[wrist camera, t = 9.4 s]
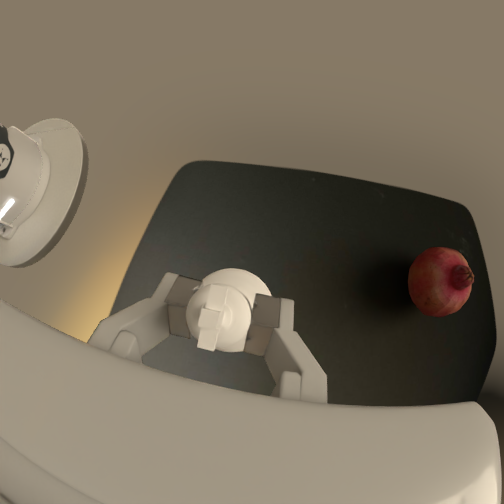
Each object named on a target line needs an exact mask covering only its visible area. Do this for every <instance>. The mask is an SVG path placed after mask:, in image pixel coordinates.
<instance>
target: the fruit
mask: <svg viewBox="0 0 504 504" xmlns="http://www.w3.org/2000/svg"><path fill="white" fill-rule="evenodd" d="M473 279H474V275H473V273H472V272H471V269H470V268H469V266H468V264H467V261H466V260H465V258H464V257H463V256H462V255H461V254H460V253H459V252H458V251H456V250H453V249H449V248H446V247H433V248H429V249H427V250H425V251H424V252H423V253H421V254H420V255H419V256H417V257H416V259H415V260H414V262H413V264H412V265H411V267H410V269H409V276H408V289H409V294H410V296H411V299H412V301H413V303H414V304H415V305H416V306H417V307H418V309H419V310H420V311H421V312H422V313H423V314H424V315H429V316H435V317H442V316H445V315H448V314H451V313H454V312H456V311H458V310H459V309H460V308H461V307H462V306H463V304H464V303H465V302H466V300H467V299H468V297H469V294H470V291H471V284H472V283H473V282H474V280H473Z"/></svg>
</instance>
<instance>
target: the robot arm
mask: <svg viewBox="0 0 504 504" xmlns="http://www.w3.org/2000/svg"><path fill="white" fill-rule="evenodd" d="M49 176H50V160H49V157H48V155H47V153H46V152H45V151H44V149H43V140H42V139H41V138H40V137H38V136H37V137H34V138H32V139H31V138H30V137H29V136H27V135H26V134H24V133H23V132H22V131H20V130H19V129H17V128H16V127H14V126H12V127H9V128H5V127H4V126H3V125H2V123H1V122H0V235H1V236H2V237H4V238H6V239H8V240H10V239H11V238H12V237H13V235H14V234H15V232H16V230H17V229H18V227H19V226H20V225H21V224H22V223H23V222H25V221H26V220H27V219H28V218H29V217H30V216H31V215H32V213H33V212H34V211H35V209H36V208H37V206H38V205H39V203H40V201H41V199H42V197H43V195H44V193H45V190H46V188H47V184H48V181H49ZM202 287H203V281H200V280H197V279H193V278H189V277H185V276H181V275H177V274H173V273H169V272H167V273H166V274H165V275H164V277H163V278H162V280H161V282H160V283H159V285H158V287H157V289H156V290H155V292H154V294H153V295H152V297H151V298H148V297H147V298H145V299H143V300H141V301H139V302H137V303H135V304H133V305H131V306H129V307H127V308H125V309H123V310H121V311H119V312H117V313H115V314H113V315H111V316H109V317H107V318H105V319H103V320H101V321H100V323H99V324H98V326H97V328H96V329H95V331H94V332H93V334H92V335H91V337H90V339H89V340H88V342H87V343H85V342H83V341H80V340H78V339H76V338H74V337H72V336H70V335H67V334H65V333H63V332H61V331H59V330H57V329H55V328H53V327H51V326H49V325H47V324H45V323H43V322H41V321H39V320H37V319H35V318H34V317H32V316H30V315H28V314H26V313H24V312H23V311H21V310H19V309H17V308H16V307H14V306H12V305H11V304H9V303H7V302H6V301H4V300H2V299H1V298H0V504H501V463H500V451H499V443H498V437H497V432H496V428H495V425H494V423H493V421H492V420H491V418H490V417H489V416H488V414H487V413H486V412H485V411H484V410H483V408H482V407H480V405H478V404H477V403H476V402H463V403H453V404H442V405H428V406H354V405H339V404H327V375H326V374H325V373H324V371H323V370H322V368H321V367H320V365H319V364H318V362H317V361H316V360H315V358H314V357H313V355H312V354H311V352H310V351H309V349H308V348H307V347H306V345H305V344H304V342H303V341H302V339H301V338H300V336H299V335H298V333H297V332H294V331H293V316H294V301H293V300H290V299H285V298H279V297H274V296H269V295H264V294H259V293H256V294H255V298H254V303H253V308H252V314H251V322H250V326H249V329H248V331H247V335H246V340H245V345H244V350H243V352H246V353H250V354H255V355H259V356H264V359H265V361H266V363H267V365H268V368H269V370H270V372H271V374H272V376H273V378H274V380H275V383H276V386H275V388H274V390H273V392H272V394H271V396H265V395H259V394H254V393H248V392H243V391H238V390H234V389H229V388H224V387H220V386H216V385H211V384H207V383H203V382H199V381H196V380H192V379H188V378H185V377H181V376H177V375H174V374H171V373H167V372H164V371H161V370H158V369H155V368H151V367H148V366H145V365H143V362H142V358H141V356H142V355H144V354H145V353H147V352H148V351H149V350H151V349H152V348H153V347H155V346H156V345H157V344H159V343H160V342H162V341H163V340H164V339H166V338H167V337H168V336H170V334H171V335H175V336H179V337H183V338H187V339H190V338H191V336H192V333H191V332H190V330H189V328H188V325H187V321H186V310H187V305H188V303H189V301H190V299H191V297H192V296H193V295H194V293H195V292H197V291H198V290H199V289H200V288H202Z"/></svg>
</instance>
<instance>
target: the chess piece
mask: <svg viewBox="0 0 504 504" xmlns="http://www.w3.org/2000/svg"><path fill="white" fill-rule="evenodd" d="M202 281H203V287H202V288H200V289H199V290H198V291H197V292H195V293H194V295H193V296H192V297H191V299H190V301H189V303H188V305H187V310H186V321H187V325H188V328H189V330H190V332H191V333H192V335H193V336H194V337H195V338H196V339H197V340H198V345H197V347H199V348H203V349H207V350H211V351H214V350H215V349H218V350H221V351H225V352H239V351H243V350H244V345H245V340H246V335H247V331H248V329H249V326H250V322H251V314H252V308H253V303H254V298H255V294H256V293H259V294H264V295H269V296H272V295H271V293H270V291H269V289H268V288H267V286H266V285H265V284H264V282H263V281H262V280H261V279H259V278H258V277H257V276H255V275H254V274H252V273H250V272H248V271H245V270H242V269H235V268H229V269H222V270H219V271H216V272H214V273H212V274H210V275H208V276H207V277H205V278H204V279H203V280H202Z"/></svg>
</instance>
